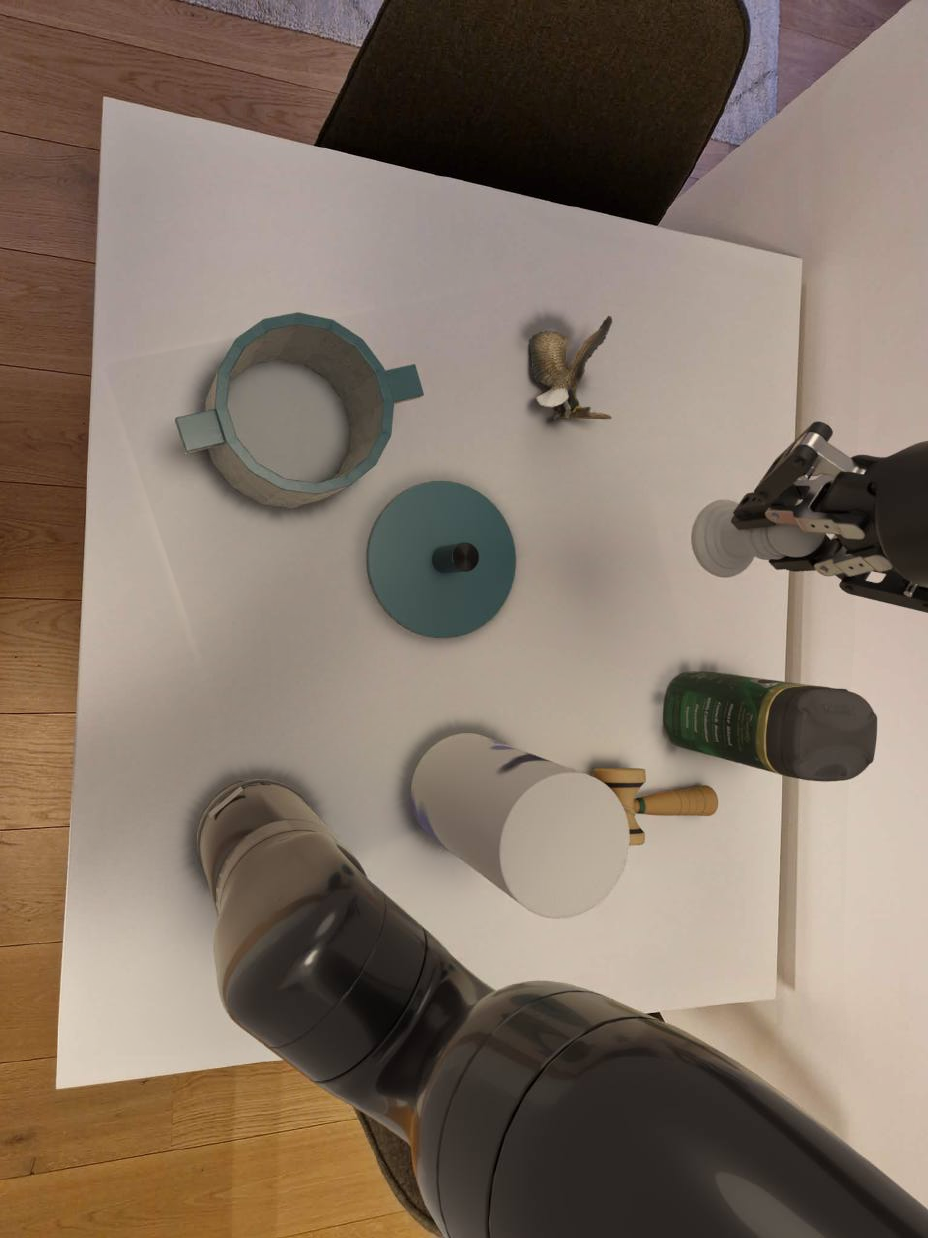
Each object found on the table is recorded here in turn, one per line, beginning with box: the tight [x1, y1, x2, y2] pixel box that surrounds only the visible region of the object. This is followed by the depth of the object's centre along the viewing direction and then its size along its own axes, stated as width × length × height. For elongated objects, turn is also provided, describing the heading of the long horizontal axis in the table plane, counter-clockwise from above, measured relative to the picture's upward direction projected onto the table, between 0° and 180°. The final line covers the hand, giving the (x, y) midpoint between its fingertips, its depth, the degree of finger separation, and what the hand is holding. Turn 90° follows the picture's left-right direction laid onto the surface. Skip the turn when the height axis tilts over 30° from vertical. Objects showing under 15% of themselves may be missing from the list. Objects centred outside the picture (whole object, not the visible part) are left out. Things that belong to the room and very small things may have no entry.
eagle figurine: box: [528, 315, 613, 421], centre depth 79 cm, size 8×7×9 cm
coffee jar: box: [663, 671, 878, 783], centre depth 79 cm, size 10×8×19 cm
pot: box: [174, 311, 425, 509], centre depth 67 cm, size 13×18×10 cm
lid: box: [366, 480, 517, 639], centre depth 75 cm, size 14×14×6 cm
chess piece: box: [690, 499, 825, 579], centre depth 57 cm, size 5×5×9 cm
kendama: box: [592, 767, 719, 846], centre depth 82 cm, size 8×6×18 cm
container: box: [410, 732, 630, 920], centre depth 69 cm, size 10×10×20 cm
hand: (760, 534), depth 57 cm, fingers closed on chess piece, 3 cm apart
